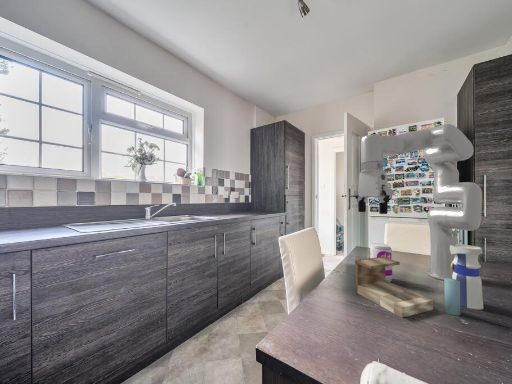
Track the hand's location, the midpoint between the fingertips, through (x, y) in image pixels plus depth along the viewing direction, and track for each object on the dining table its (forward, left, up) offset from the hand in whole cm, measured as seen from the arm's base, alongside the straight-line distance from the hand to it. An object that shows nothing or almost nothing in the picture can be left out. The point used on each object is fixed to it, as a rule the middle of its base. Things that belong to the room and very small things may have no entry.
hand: (372, 212), depth 81 cm
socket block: (-1, +6, -30) cm, 31 cm away
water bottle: (-23, +16, -30) cm, 42 cm away
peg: (-12, +18, -30) cm, 37 cm away
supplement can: (-14, -9, -30) cm, 34 cm away
